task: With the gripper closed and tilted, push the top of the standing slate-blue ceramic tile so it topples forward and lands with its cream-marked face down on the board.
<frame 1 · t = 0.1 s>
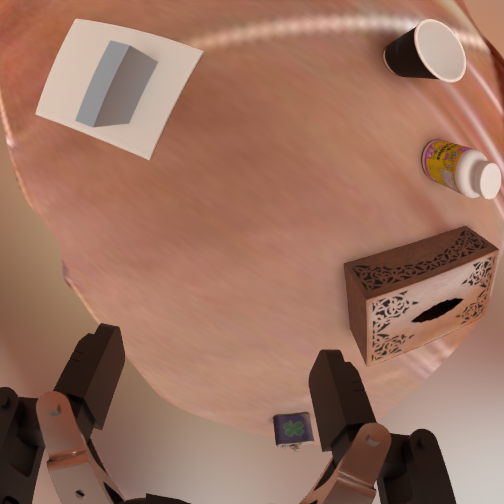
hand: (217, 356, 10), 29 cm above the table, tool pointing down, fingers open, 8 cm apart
dixie cup: (396, 60, 28), on the table
tissue box cover: (410, 276, 45), on the table
flask: (290, 415, 62), on the table
board: (107, 80, 29), on the table
tile: (135, 89, 29), point 1 cm above the table, touching board
supplement bottle: (435, 159, 35), on the table
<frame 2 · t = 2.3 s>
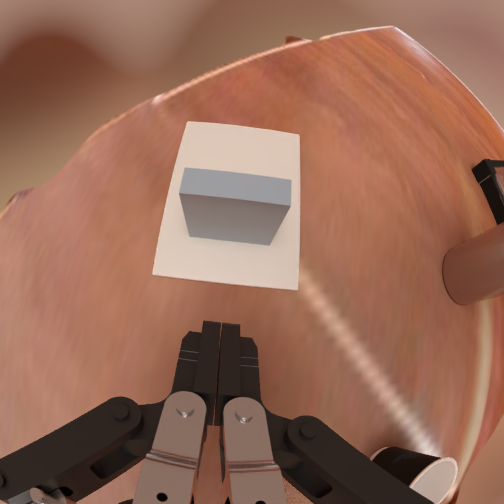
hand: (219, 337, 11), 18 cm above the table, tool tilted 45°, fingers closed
dixie cup: (381, 461, 26), on the table
board: (234, 194, 34), on the table
tile: (230, 230, 32), point 1 cm above the table, touching board
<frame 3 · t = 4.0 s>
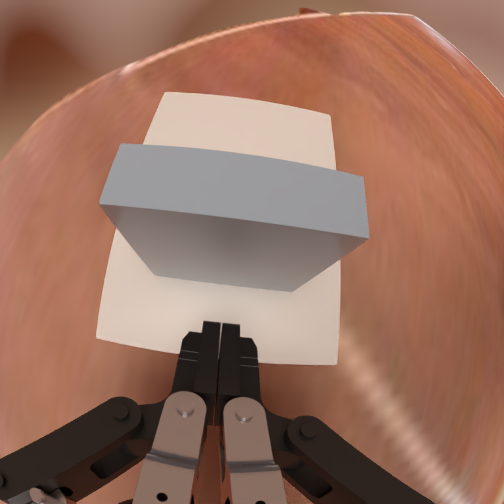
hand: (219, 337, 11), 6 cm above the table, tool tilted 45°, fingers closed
board: (233, 202, 20), on the table
tile: (225, 265, 18), point 1 cm above the table, touching board
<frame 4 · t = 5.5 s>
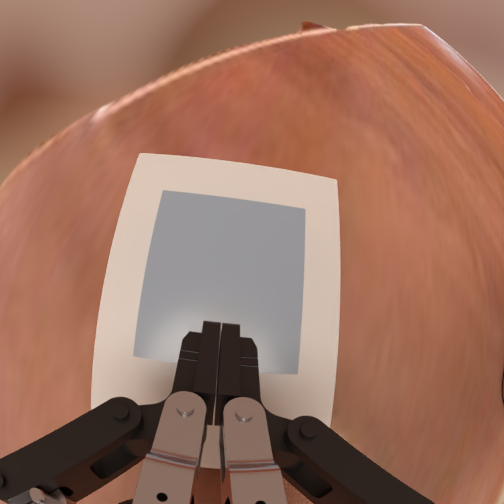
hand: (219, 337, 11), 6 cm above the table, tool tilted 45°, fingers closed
board: (220, 309, 18), on the table
tile: (214, 366, 15), point 2 cm above the table, tilted 90°, touching board
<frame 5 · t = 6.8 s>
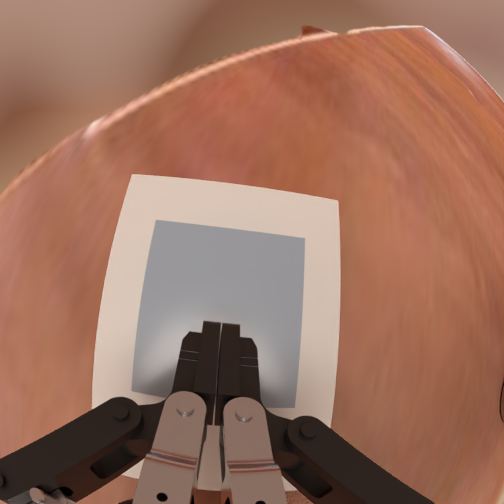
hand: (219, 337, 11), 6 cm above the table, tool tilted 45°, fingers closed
board: (217, 339, 17), on the table
tile: (212, 399, 14), point 2 cm above the table, tilted 90°, touching board
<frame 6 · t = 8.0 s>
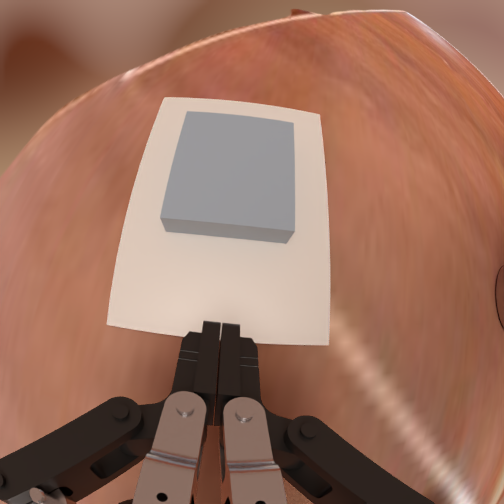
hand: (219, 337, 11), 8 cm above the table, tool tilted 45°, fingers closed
board: (230, 198, 22), on the table
tile: (226, 231, 19), point 2 cm above the table, tilted 90°, touching board
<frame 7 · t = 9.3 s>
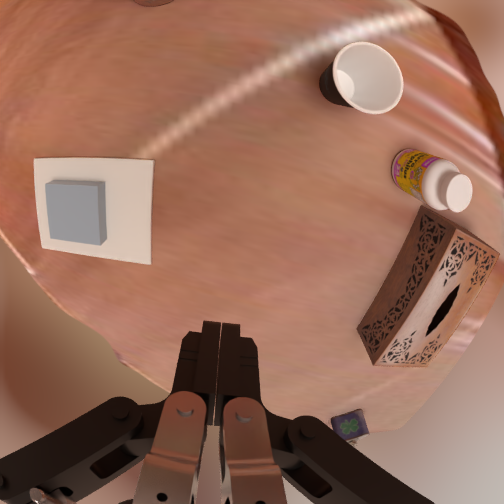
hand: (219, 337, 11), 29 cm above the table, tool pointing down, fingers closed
dixie cup: (336, 86, 32), on the table
tissue box cover: (415, 279, 46), on the table
flask: (345, 414, 66), on the table
board: (87, 208, 38), on the table
tile: (102, 214, 36), point 2 cm above the table, tilted 90°, touching board
supplement bottle: (407, 169, 37), on the table
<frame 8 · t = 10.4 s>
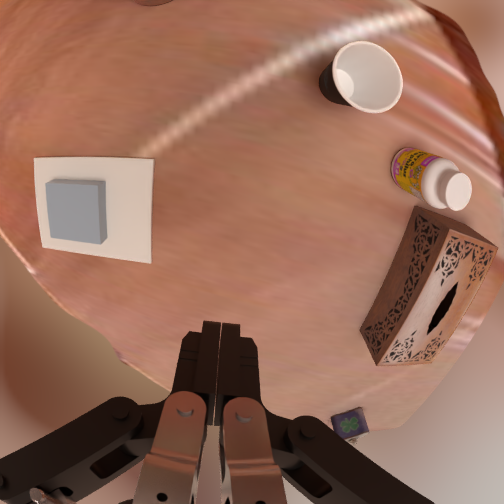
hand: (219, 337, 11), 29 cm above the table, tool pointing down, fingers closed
dixie cup: (335, 85, 32), on the table
tissue box cover: (415, 277, 46), on the table
flask: (346, 412, 66), on the table
board: (88, 207, 38), on the table
tile: (102, 213, 36), point 2 cm above the table, tilted 90°, touching board
supplement bottle: (406, 167, 37), on the table
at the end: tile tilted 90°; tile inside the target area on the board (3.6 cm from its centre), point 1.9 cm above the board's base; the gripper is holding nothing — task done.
